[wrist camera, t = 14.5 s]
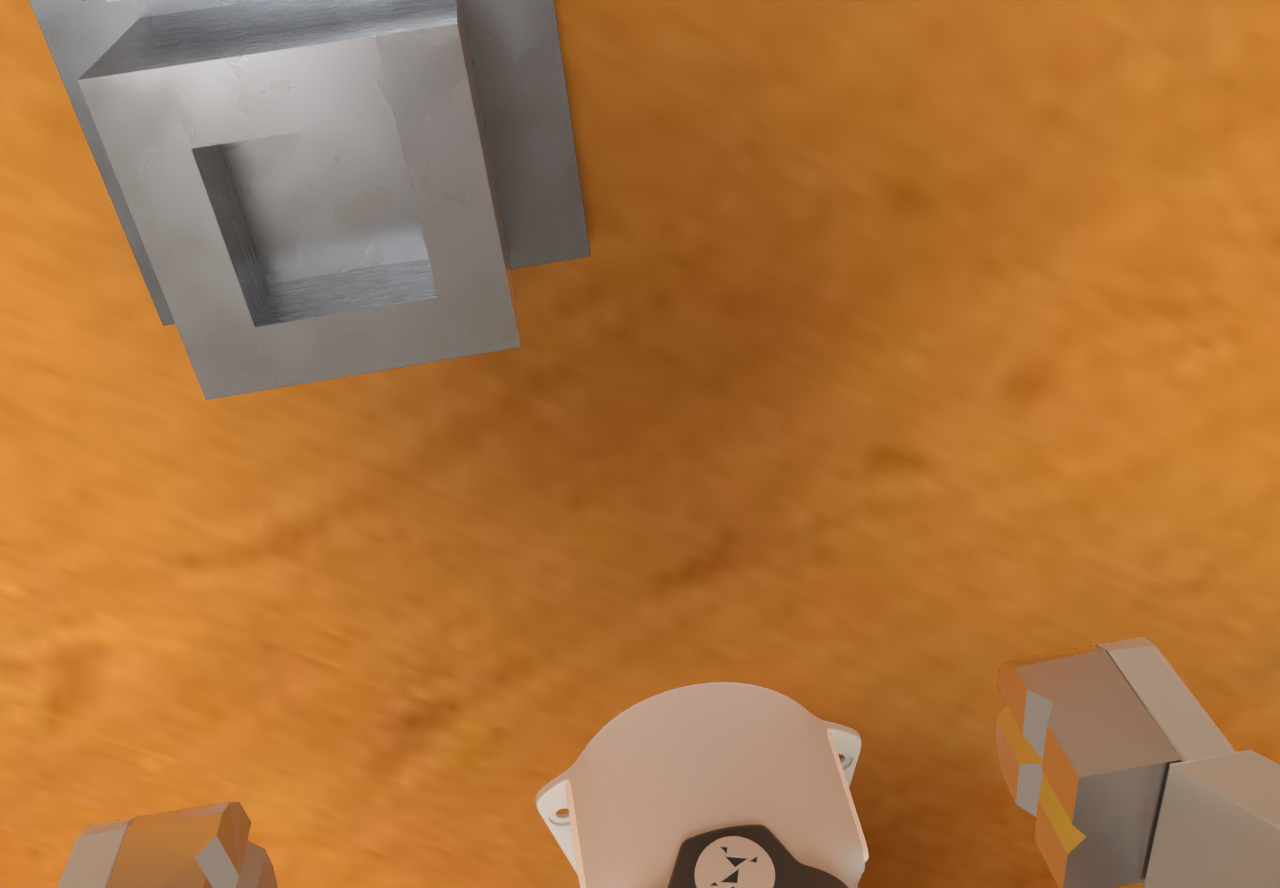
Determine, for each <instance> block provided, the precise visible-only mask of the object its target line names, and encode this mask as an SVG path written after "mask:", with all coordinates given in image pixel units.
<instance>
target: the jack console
mask: <svg viewBox="0 0 1280 888" xmlns="http://www.w3.org/2000/svg"><path fill="white" fill-rule="evenodd" d="M29 1H30V3H31V6H32V8H33V10H34V13H35V15H36V18H37V20H38V23H39V25H40V27H41V30H42V32H43V35H44V37H45V40H46V42H47V44H48V47H49V49H50V52H51V54H52V57H53V59H54V62H55V64H56V66H57V69H58V71H59V74H60V76H61V79H62V81H63V83H64V86H65V88H66V91H67V93H68V96H69V98H70V100H71V103H72V105H73V108H74V110H75V113H76V115H77V117H78V120H79V122H80V125H81V127H82V130H83V132H84V134H85V137H86V139H87V142H88V144H89V147H90V149H91V151H92V154H93V156H94V159H95V161H96V164H97V166H98V168H99V171H100V173H101V176H102V178H103V181H104V183H105V185H106V188H107V190H108V193H109V195H110V198H111V200H112V202H113V205H114V207H115V210H116V212H117V215H118V217H119V220H120V222H121V224H122V227H123V229H124V232H125V234H126V237H127V239H128V241H129V244H130V246H131V249H132V251H133V254H134V256H135V258H136V261H137V263H138V266H139V268H140V271H141V273H142V275H143V278H144V280H145V283H146V285H147V288H148V290H149V292H150V295H151V297H152V300H153V302H154V305H155V307H156V309H157V312H158V314H159V317H160V319H161V322H162V324H163V326H166V325H172V324H176V326H177V329H178V331H179V334H180V336H181V338H182V341H183V343H184V346H185V348H186V351H187V353H188V356H189V358H190V361H191V363H192V366H193V368H194V371H195V373H196V376H197V378H198V381H199V383H200V386H201V388H202V391H203V393H204V396H205V398H206V400H209V399H215V398H221V397H227V396H233V395H239V394H245V393H251V392H257V391H262V390H268V389H274V388H280V387H286V386H292V385H298V384H304V383H310V382H316V381H322V380H328V379H334V378H340V377H346V376H352V375H358V374H364V373H370V372H375V371H381V370H387V369H393V368H399V367H405V366H411V365H417V364H423V363H429V362H435V361H441V360H447V359H453V358H459V357H465V356H471V355H477V354H483V353H488V352H494V351H500V350H506V349H512V348H518V347H521V345H520V337H519V329H518V320H517V312H516V304H515V296H514V287H513V279H512V271H511V269H514V268H520V267H527V266H533V265H539V264H545V263H551V262H557V261H563V260H569V259H575V258H582V257H588V256H591V255H590V248H589V241H588V234H587V227H586V220H585V213H584V206H583V200H582V193H581V186H580V179H579V172H578V165H577V158H576V151H575V144H574V137H573V131H572V124H571V117H570V110H569V103H568V96H567V89H566V82H565V75H564V68H563V62H562V55H561V48H560V41H559V34H558V27H557V20H556V13H555V6H554V0H29Z"/></svg>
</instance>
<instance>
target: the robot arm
mask: <svg viewBox="0 0 1280 888" xmlns="http://www.w3.org/2000/svg"><path fill="white" fill-rule="evenodd" d="M998 690H999V691H1000V693H1001V695H1002V697H1003V699H1004V701H1005V703H1006V706H1005V707H1004V708H1003V709H1002V710H1001V711H1000V713H999V714H998V715H997V716H996V717H995V744H996V750H997V755H998V761H999V765H1000V768H1001V771H1002V774H1003V777H1004V779H1005V782H1006V785H1007V787H1008V789H1009V791H1010V793H1011V795H1012V797H1013V799H1014V801H1015V803H1016V805H1018V806H1019V807H1021V808H1023V809H1024V810H1026V811H1027V812H1029V813H1030V814H1032V815H1033V816H1035V817H1036V824H1035V834H1034V841H1035V843H1036V845H1037V847H1038V849H1039V851H1040V853H1041V855H1042V857H1043V859H1044V861H1045V863H1046V865H1047V867H1048V868H1049V870H1050V872H1051V874H1052V876H1053V878H1054V880H1055V882H1056V884H1057V886H1058V888H1111V887H1118V886H1124V885H1130V884H1137V883H1143V882H1145V883H1144V887H1145V888H1280V765H1279V764H1277V763H1275V762H1274V761H1272V760H1270V759H1268V758H1266V757H1264V756H1262V755H1260V754H1258V753H1256V752H1254V751H1252V750H1245V751H1238V752H1236V750H1235V749H1234V748H1233V746H1232V745H1231V744H1230V743H1229V741H1228V740H1227V739H1226V737H1225V736H1224V735H1223V733H1222V732H1221V731H1220V729H1219V728H1218V727H1217V726H1216V724H1215V723H1214V722H1213V720H1212V719H1211V718H1210V716H1209V715H1208V714H1207V712H1206V711H1205V710H1204V709H1203V707H1202V706H1201V705H1200V703H1199V702H1198V701H1197V699H1196V698H1195V697H1194V695H1193V694H1192V693H1191V691H1190V690H1189V689H1188V688H1187V686H1186V685H1185V684H1184V682H1183V681H1182V680H1181V678H1180V677H1179V676H1178V674H1177V673H1176V672H1175V671H1174V669H1173V668H1172V667H1171V665H1170V664H1169V663H1168V661H1167V660H1166V659H1165V657H1164V656H1163V655H1162V654H1161V652H1160V651H1159V650H1158V648H1157V647H1156V646H1155V644H1154V643H1153V642H1152V641H1150V640H1148V639H1147V638H1145V637H1143V636H1141V637H1136V638H1130V639H1125V640H1120V641H1114V642H1109V643H1103V644H1098V645H1096V646H1091V645H1090V646H1085V647H1079V648H1074V649H1069V650H1064V651H1059V652H1053V653H1048V654H1043V655H1038V656H1032V657H1027V658H1022V659H1017V660H1012V661H1006V662H1004V663H1003V665H1002V667H1001V669H1000V670H999V679H998ZM861 745H862V742H861V738H860V735H859V733H858V732H857V731H856V730H854V729H852V728H850V727H847V726H844V725H841V724H837V723H833V722H829V721H825V720H822V719H820V718H818V717H816V716H815V715H813V714H812V713H810V712H809V711H808V710H807V709H805V708H804V707H803V706H801V705H800V704H799V703H797V702H796V701H794V700H792V699H791V698H789V697H787V696H785V695H783V694H781V693H779V692H776V691H773V690H771V689H768V688H764V687H761V686H757V685H752V684H746V683H736V682H711V683H701V684H694V685H689V686H684V687H679V688H676V689H672V690H669V691H666V692H662V693H660V694H657V695H654V696H652V697H650V698H647V699H645V700H643V701H641V702H639V703H637V704H635V705H633V706H632V707H630V708H628V709H627V710H625V711H623V712H622V713H621V714H619V715H618V716H616V717H615V718H614V719H612V720H611V721H610V722H609V723H608V724H606V725H605V726H604V727H603V728H602V729H601V730H600V731H599V732H598V733H597V734H596V735H595V736H594V737H593V738H592V740H591V741H590V742H589V743H588V745H587V746H586V748H585V749H584V750H583V752H582V753H581V754H580V756H579V757H578V759H577V760H576V761H575V762H574V764H573V765H572V766H571V767H570V768H569V769H568V770H566V771H565V772H563V773H562V774H560V775H559V776H557V777H556V778H554V779H553V780H551V781H550V782H549V783H547V784H546V785H545V786H544V787H543V788H542V789H540V791H539V792H538V793H537V795H536V797H535V803H536V807H537V810H538V812H539V813H540V815H541V817H542V818H543V820H544V821H545V823H546V825H547V826H548V828H549V830H550V831H551V833H552V834H553V836H554V838H555V839H556V841H557V843H558V844H559V846H560V847H561V849H562V851H563V852H564V854H565V856H566V857H567V859H568V860H569V862H570V864H571V865H572V867H573V868H574V870H575V872H576V873H577V875H578V878H579V885H580V888H858V882H859V881H860V878H861V876H862V873H863V872H864V870H865V862H866V861H867V860H868V858H869V855H868V848H867V844H866V840H865V837H864V834H863V831H862V827H861V824H860V821H859V818H858V815H857V812H856V808H855V805H854V802H853V799H852V796H851V793H850V790H849V787H850V783H851V780H852V777H853V773H854V770H855V767H856V763H857V760H858V757H859V753H860V750H861ZM839 754H840V755H844V756H843V758H842V759H839ZM563 808H566V809H569V812H568V813H566V814H558V813H556V812H557V811H558V810H560V809H563ZM250 825H251V821H250V820H249V818H248V816H247V814H246V813H245V811H244V809H243V807H242V806H241V804H240V802H228V803H222V804H215V805H209V806H202V807H196V808H189V809H183V810H176V811H170V812H163V813H157V814H150V815H144V816H137V817H134V818H128V819H122V820H116V821H109V822H103V823H97V824H91V825H88V826H87V827H86V828H85V829H84V831H83V832H82V833H81V834H80V835H79V836H78V837H77V839H76V840H75V843H74V845H73V848H72V850H71V853H70V856H69V858H68V861H67V863H66V866H65V868H64V871H63V873H62V876H61V879H60V881H59V884H58V886H57V888H277V882H276V878H275V874H274V870H273V866H272V863H271V861H270V859H269V857H268V855H267V853H266V851H265V849H263V848H261V847H259V846H257V845H255V844H253V843H251V842H249V841H247V839H248V835H249V830H250Z"/></svg>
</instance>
